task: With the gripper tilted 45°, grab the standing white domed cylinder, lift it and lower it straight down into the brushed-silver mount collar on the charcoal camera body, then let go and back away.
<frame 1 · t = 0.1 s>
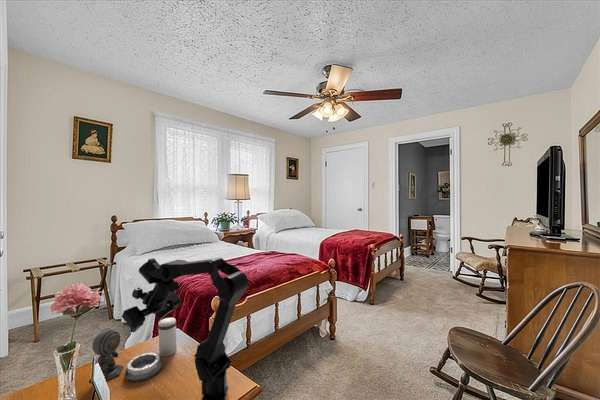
hand: (145, 325, 96), 15 cm above the table, tool tilted 35°, fingers open, 9 cm apart
white domed cylinder: (168, 351, 105), on the table
mount: (144, 371, 94), on the table
figurine: (106, 374, 92), on the table
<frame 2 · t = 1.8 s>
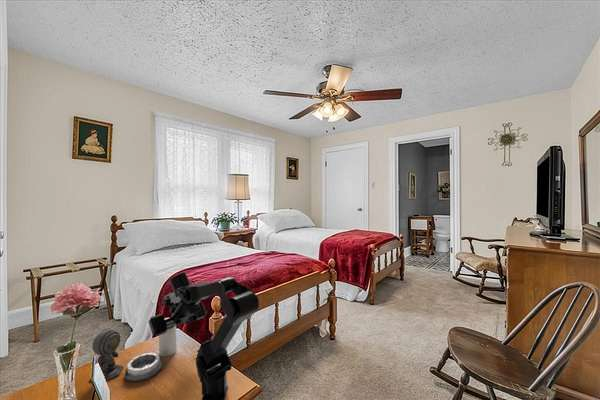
hand: (172, 327, 102), 11 cm above the table, tool tilted 45°, fingers open, 9 cm apart
nothing on the table moved.
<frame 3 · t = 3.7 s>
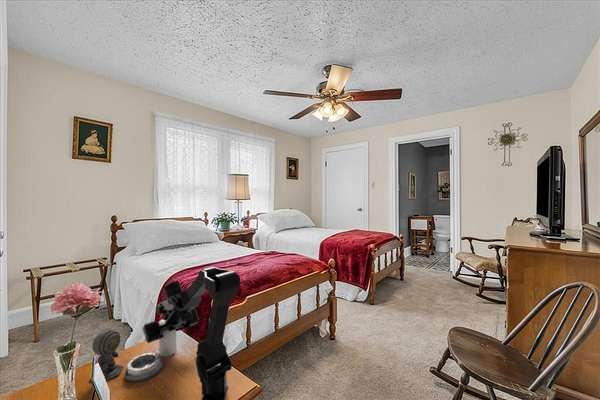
hand: (166, 333, 105), 7 cm above the table, tool tilted 45°, fingers closed on white domed cylinder, 6 cm apart
white domed cylinder: (168, 351, 105), on the table, touching gripper
everything else where it was.
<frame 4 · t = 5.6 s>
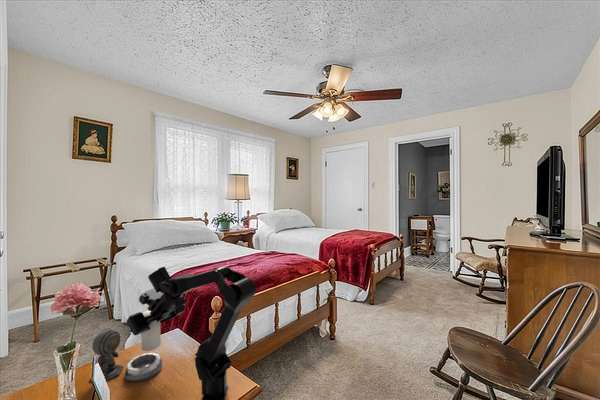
hand: (148, 327, 97), 13 cm above the table, tool tilted 45°, fingers closed on white domed cylinder, 6 cm apart
white domed cylinder: (151, 346, 97), point 7 cm above the table, touching gripper
everything else where it was.
when the fingers open (9 cm above the table, at t = 7.7 s): white domed cylinder stays where it is, resting on mount.
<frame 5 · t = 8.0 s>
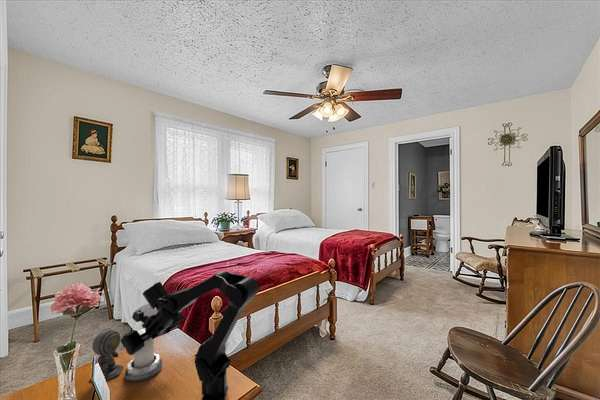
hand: (140, 344, 94), 9 cm above the table, tool tilted 45°, fingers open, 9 cm apart
white domed cylinder: (144, 366, 94), point 2 cm above the table, touching mount
everything else where it was.
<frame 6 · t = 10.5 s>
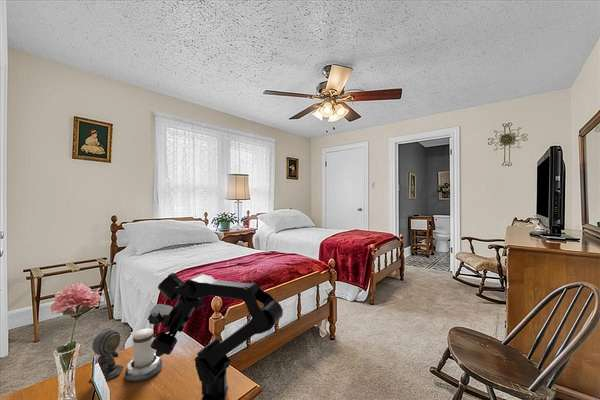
hand: (163, 344, 89), 12 cm above the table, tool tilted 35°, fingers open, 9 cm apart
nothing on the table moved.
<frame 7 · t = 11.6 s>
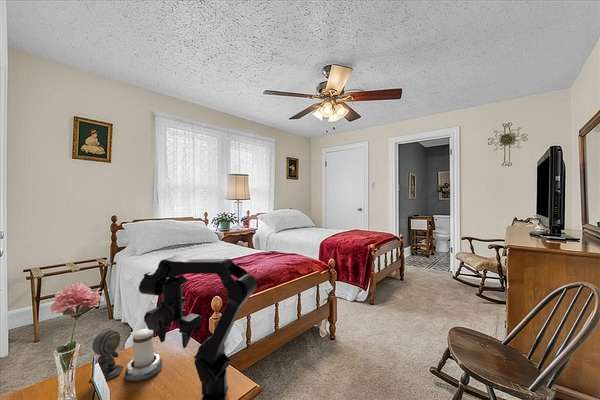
hand: (173, 344, 87), 13 cm above the table, tool pointing down, fingers open, 9 cm apart
nothing on the table moved.
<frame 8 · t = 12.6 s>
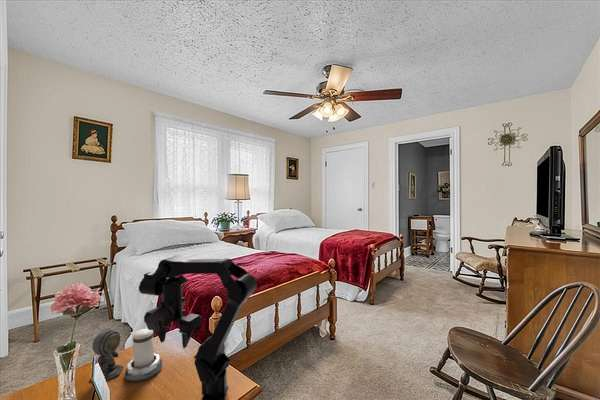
hand: (173, 344, 87), 13 cm above the table, tool pointing down, fingers open, 9 cm apart
nothing on the table moved.
at the end: white domed cylinder 0.1 cm off-centre on the mount, point 1.5 cm above the mount's base; white domed cylinder tilted 0°; the gripper is holding nothing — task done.
